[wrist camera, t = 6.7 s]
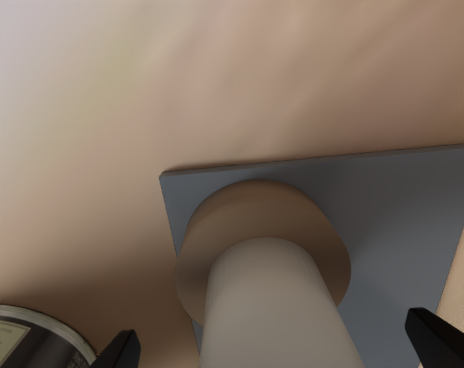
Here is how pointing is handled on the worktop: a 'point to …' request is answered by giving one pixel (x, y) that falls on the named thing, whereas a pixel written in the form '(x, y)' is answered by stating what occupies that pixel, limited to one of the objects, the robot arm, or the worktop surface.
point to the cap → (272, 311)
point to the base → (256, 236)
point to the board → (363, 231)
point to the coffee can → (40, 341)
